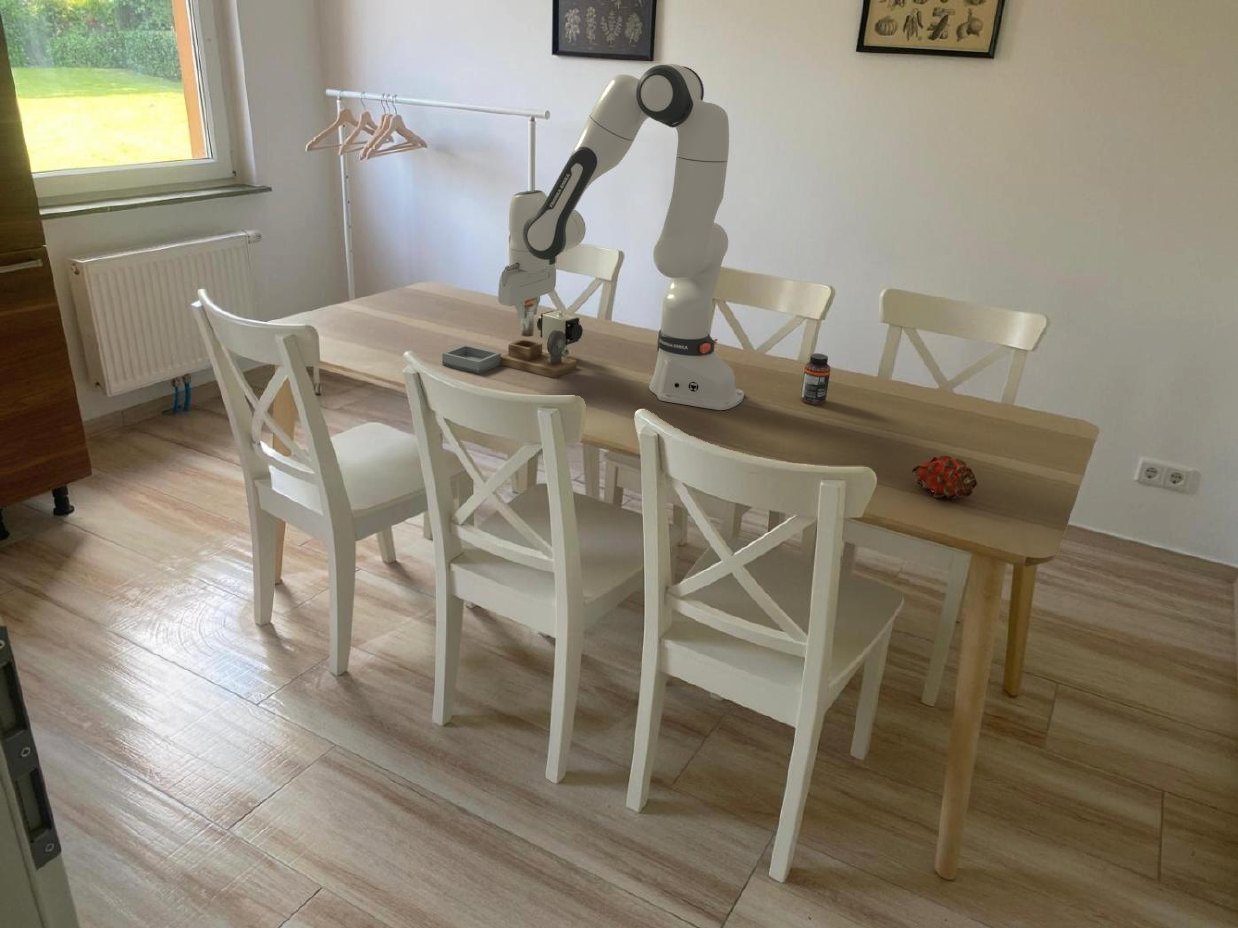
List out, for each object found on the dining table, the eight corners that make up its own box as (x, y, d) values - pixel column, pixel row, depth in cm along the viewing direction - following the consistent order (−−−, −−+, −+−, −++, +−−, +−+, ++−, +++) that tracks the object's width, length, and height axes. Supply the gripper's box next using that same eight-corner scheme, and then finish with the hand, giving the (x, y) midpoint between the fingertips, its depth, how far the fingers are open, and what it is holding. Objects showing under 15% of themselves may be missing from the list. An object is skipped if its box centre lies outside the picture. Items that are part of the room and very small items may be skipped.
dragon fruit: (974, 514, 168) (909, 503, 174) (986, 477, 171) (922, 468, 178) (969, 489, 161) (902, 479, 168) (981, 451, 165) (916, 442, 172)
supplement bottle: (809, 395, 218) (816, 350, 213) (830, 402, 214) (837, 356, 210) (794, 400, 214) (801, 354, 209) (815, 407, 210) (823, 361, 206)
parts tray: (500, 364, 225) (500, 353, 224) (478, 374, 217) (478, 362, 216) (465, 356, 229) (464, 344, 228) (442, 365, 222) (442, 353, 221)
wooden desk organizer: (576, 367, 226) (577, 329, 222) (555, 378, 218) (556, 338, 214) (523, 355, 233) (523, 317, 229) (500, 364, 225) (500, 325, 221)
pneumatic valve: (570, 364, 228) (572, 318, 223) (535, 353, 235) (536, 308, 230) (584, 359, 233) (586, 314, 228) (549, 349, 239) (551, 304, 234)
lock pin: (536, 334, 225) (536, 298, 221) (529, 337, 222) (529, 301, 218) (525, 332, 226) (525, 296, 222) (518, 335, 223) (518, 299, 220)
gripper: (513, 269, 207) (514, 328, 212) (560, 255, 223) (560, 310, 229) (491, 265, 209) (492, 323, 215) (539, 252, 226) (539, 306, 232)
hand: (527, 316), depth 222 cm, fingers closed on lock pin, 3 cm apart
